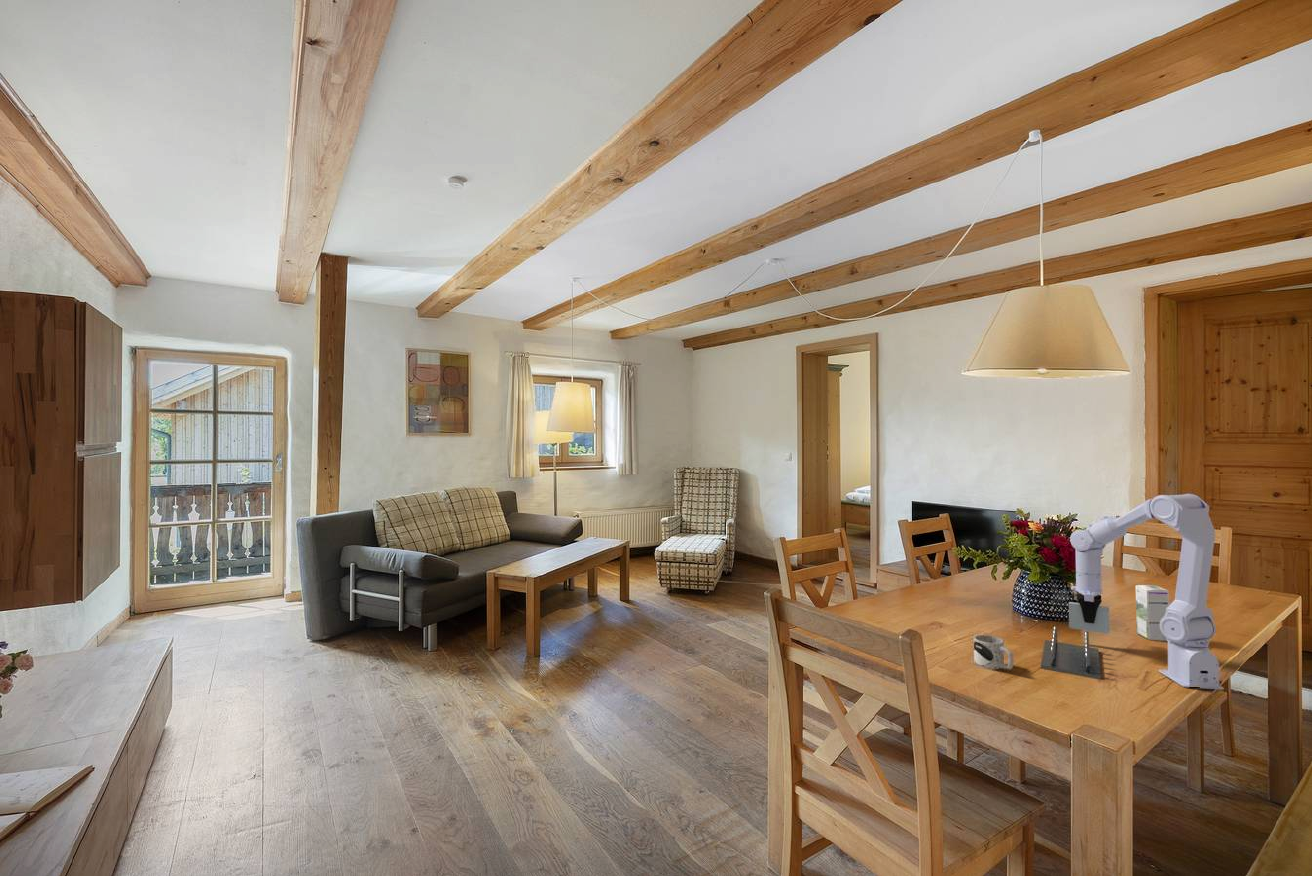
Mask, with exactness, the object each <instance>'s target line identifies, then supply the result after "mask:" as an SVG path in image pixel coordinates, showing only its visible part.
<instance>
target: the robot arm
mask: <svg viewBox="0 0 1312 876" xmlns="http://www.w3.org/2000/svg"><path fill="white" fill-rule="evenodd" d="M1209 513H1210V505H1209V504H1207V503H1206V502H1205V501H1204V500H1203V499H1202V498H1201V497H1200V496H1198V495H1196V494H1192V493H1185V494H1172V495H1171V494H1169V495H1167V494H1160V495H1157V496H1155V497H1153V498H1150V499H1147V500H1145V501H1144V502H1143V503H1141V504H1139V505H1138V506H1136V507H1134V508H1132V509H1131V510H1129V511H1127V512H1125V513H1124V514H1122V515H1120V516H1118V517H1114V516H1103V517H1100V521H1098V522H1096V523H1094V524H1089V525H1087V526H1086V528H1085V529H1075V531H1073V532H1072V533H1071V535H1070V537H1069V540H1070V544H1071V547H1072V548H1073V549H1075V585H1071V586H1070V589H1071V590H1072V591H1076V592H1077V593H1076V600H1077V603H1079V604H1080V606H1081V609H1082V614H1083V618H1084V621H1085V622H1086V623H1093V624H1094V622H1095V618H1096V613H1097V609H1098V607H1099V606H1101V603H1102V594H1103V592H1104V591H1103V588H1102V587H1103V586H1102V555H1103V552H1104V551H1103V550H1104V549H1105V548H1106V546H1107V545H1108V544H1109V543H1112V542H1115V541H1116V540H1118V539H1121V538H1122V537H1124V536H1126V535H1127V531H1128V529H1130V528H1132V527H1135V526H1137V525H1139V524H1141V523H1144V522H1147V521H1150V520H1151V519H1157V520H1159V522H1161V523H1163V524H1165V525H1167V526H1168V527H1170V528H1171V529H1174V530H1175V531H1176V532H1177V533H1178V534H1179V535H1180V536H1181V537H1182V539H1181V548H1180V549H1181V550H1180V556H1179V564H1178V571H1177V578H1176V586H1175V595H1174V600H1173V601H1172V602H1171V603H1169V606H1168V607H1167V609H1166V613H1165V616H1164V617H1163V618H1162V619H1161V621H1160V630H1161V632H1162V634H1163V635H1164V636H1165V637H1166V640H1167V641H1166V642H1167V669H1159V670H1158V672H1159V673H1161V674H1162V675H1164V676H1166V677H1167V678H1169V679H1170V680H1172V681H1174V682H1175V683H1177V684H1178V685H1180V686H1181V687H1183V688H1189V687H1196V686H1199V687H1200V688H1199V689H1206V690H1207V689H1208V690H1219V691H1220V690H1221V691H1224V689H1225V688H1224V687H1223V686H1222V685H1220V663H1219V660H1218V658H1217V657H1216V655H1215V654H1213V653H1212V652H1211V650H1210V648H1209V644H1210V639H1212V638H1214V636H1215V635H1216V632H1217V627H1216V625H1215V621H1214V618H1213V617H1214V612H1213V610H1211V609H1210V608H1209V607H1208V606H1207V598H1208V591H1209V586H1210V585H1209V583H1210V577H1211V569H1212V563H1213V553H1214V548H1215V539H1216V530H1215V527H1214V525H1213V523H1212V520H1211V517H1210V514H1209Z"/></svg>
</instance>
